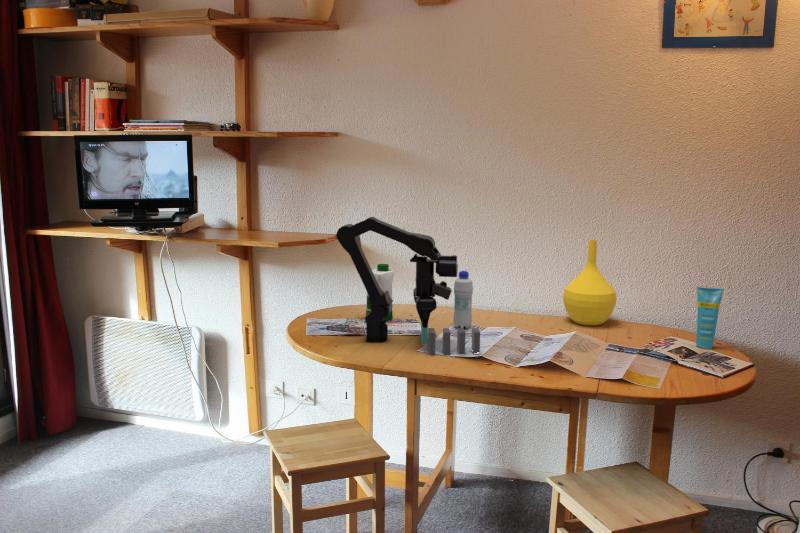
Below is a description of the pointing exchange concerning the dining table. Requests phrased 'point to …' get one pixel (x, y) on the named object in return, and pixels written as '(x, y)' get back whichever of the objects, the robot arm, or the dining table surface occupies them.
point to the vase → (589, 294)
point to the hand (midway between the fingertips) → (424, 323)
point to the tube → (707, 315)
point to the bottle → (463, 300)
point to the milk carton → (383, 284)
